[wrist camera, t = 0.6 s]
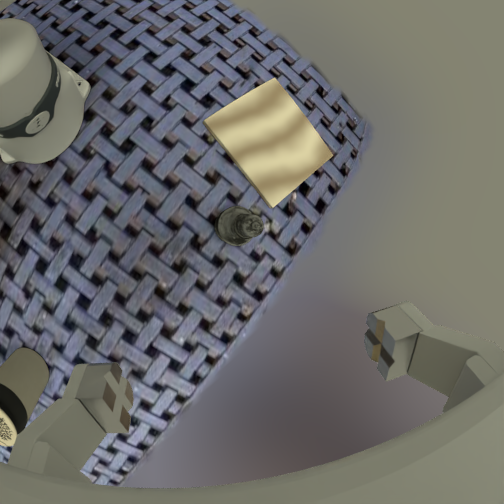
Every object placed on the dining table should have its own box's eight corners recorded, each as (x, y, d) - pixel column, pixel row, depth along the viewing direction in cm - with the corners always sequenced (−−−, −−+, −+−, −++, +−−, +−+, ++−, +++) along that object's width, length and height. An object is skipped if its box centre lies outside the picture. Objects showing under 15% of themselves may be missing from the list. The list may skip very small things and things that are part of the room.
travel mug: (20, 337, 35) (-26, 386, 19) (56, 366, 38) (24, 427, 21) (6, 368, 34) (-34, 420, 17) (40, 395, 37) (11, 457, 20)
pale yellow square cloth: (202, 123, 43) (204, 120, 42) (272, 80, 47) (274, 77, 46) (269, 208, 49) (272, 207, 47) (329, 156, 52) (333, 155, 51)
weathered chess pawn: (233, 200, 46) (261, 191, 35) (255, 228, 48) (289, 229, 37) (205, 223, 45) (224, 222, 34) (228, 252, 47) (255, 260, 36)
